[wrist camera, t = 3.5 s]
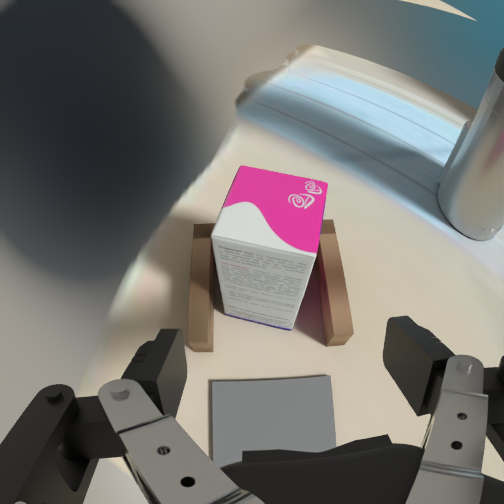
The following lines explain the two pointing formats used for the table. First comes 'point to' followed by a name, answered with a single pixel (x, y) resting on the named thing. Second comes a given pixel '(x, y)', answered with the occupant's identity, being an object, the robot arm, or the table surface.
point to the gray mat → (271, 417)
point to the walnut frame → (328, 280)
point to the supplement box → (267, 244)
